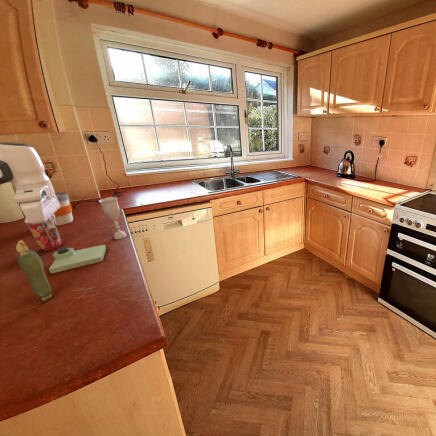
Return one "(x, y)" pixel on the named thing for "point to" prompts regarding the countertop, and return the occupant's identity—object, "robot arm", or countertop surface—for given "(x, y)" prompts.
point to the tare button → (62, 250)
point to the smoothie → (45, 236)
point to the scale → (77, 258)
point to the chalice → (112, 213)
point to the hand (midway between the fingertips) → (53, 227)
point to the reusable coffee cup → (63, 209)
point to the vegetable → (34, 271)
